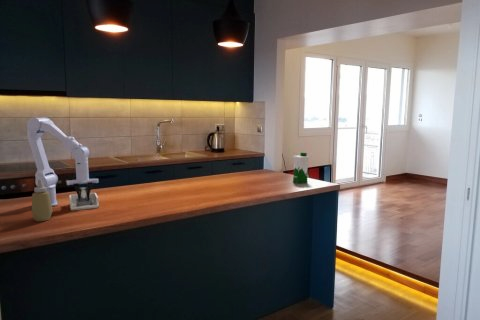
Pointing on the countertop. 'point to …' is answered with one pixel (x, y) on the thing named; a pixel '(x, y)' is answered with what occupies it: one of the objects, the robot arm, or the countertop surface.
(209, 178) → the countertop surface
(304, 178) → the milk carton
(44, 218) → the squeeze bottle
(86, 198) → the steel plug
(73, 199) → the walled box
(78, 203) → the inlet socket
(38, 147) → the robot arm
